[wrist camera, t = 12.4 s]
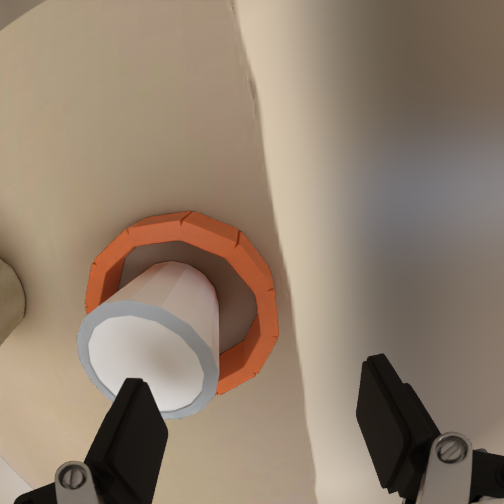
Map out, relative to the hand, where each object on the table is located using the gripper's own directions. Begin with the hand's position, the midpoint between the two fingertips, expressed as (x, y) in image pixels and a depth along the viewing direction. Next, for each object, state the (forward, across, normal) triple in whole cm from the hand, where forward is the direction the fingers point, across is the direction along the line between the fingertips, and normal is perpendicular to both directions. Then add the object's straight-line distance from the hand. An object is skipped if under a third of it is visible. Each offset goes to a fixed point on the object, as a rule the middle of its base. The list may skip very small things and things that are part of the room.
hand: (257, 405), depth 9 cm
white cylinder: (+10, +5, 0) cm, 11 cm away
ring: (+9, +4, 0) cm, 10 cm away
